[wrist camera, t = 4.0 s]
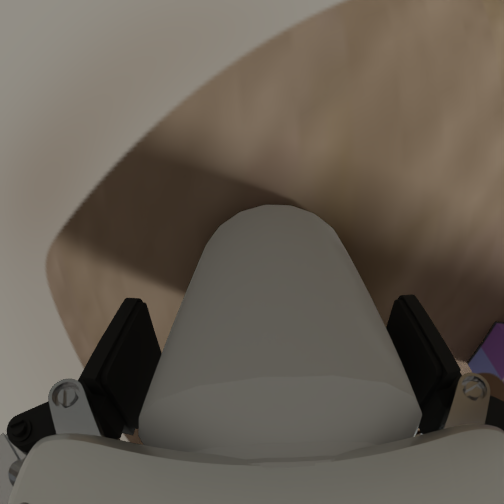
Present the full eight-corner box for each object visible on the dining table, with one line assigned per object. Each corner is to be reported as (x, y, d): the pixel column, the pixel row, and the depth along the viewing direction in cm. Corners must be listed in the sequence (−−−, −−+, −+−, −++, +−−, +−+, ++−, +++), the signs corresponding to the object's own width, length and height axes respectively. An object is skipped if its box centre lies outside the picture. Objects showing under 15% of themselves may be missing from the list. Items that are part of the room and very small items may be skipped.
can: (220, 327, 17) (184, 524, 6) (189, 210, 14) (48, 434, 3) (343, 314, 16) (394, 510, 6) (341, 190, 13) (503, 406, 2)
